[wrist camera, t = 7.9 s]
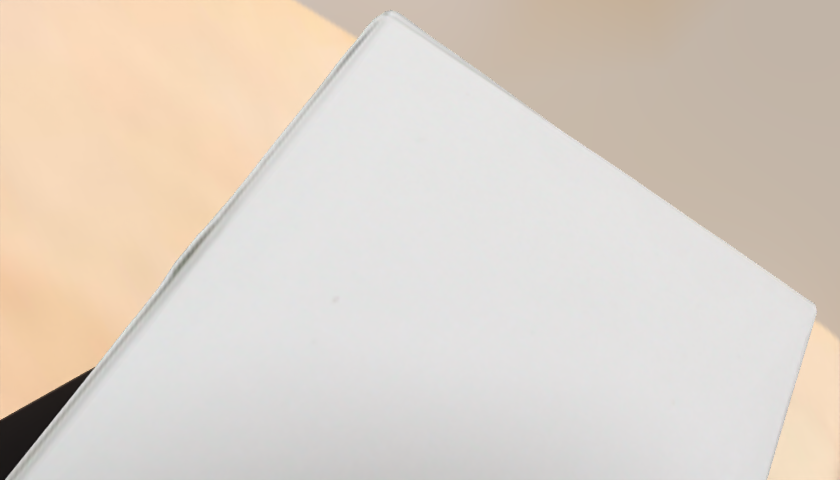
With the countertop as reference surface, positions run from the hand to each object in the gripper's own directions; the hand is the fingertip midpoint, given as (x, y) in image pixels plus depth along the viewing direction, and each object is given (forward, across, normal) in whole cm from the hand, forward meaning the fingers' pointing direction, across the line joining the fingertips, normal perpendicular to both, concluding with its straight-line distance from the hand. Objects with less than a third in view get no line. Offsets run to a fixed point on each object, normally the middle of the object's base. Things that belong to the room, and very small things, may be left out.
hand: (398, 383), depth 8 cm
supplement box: (+6, 0, +5) cm, 8 cm away
